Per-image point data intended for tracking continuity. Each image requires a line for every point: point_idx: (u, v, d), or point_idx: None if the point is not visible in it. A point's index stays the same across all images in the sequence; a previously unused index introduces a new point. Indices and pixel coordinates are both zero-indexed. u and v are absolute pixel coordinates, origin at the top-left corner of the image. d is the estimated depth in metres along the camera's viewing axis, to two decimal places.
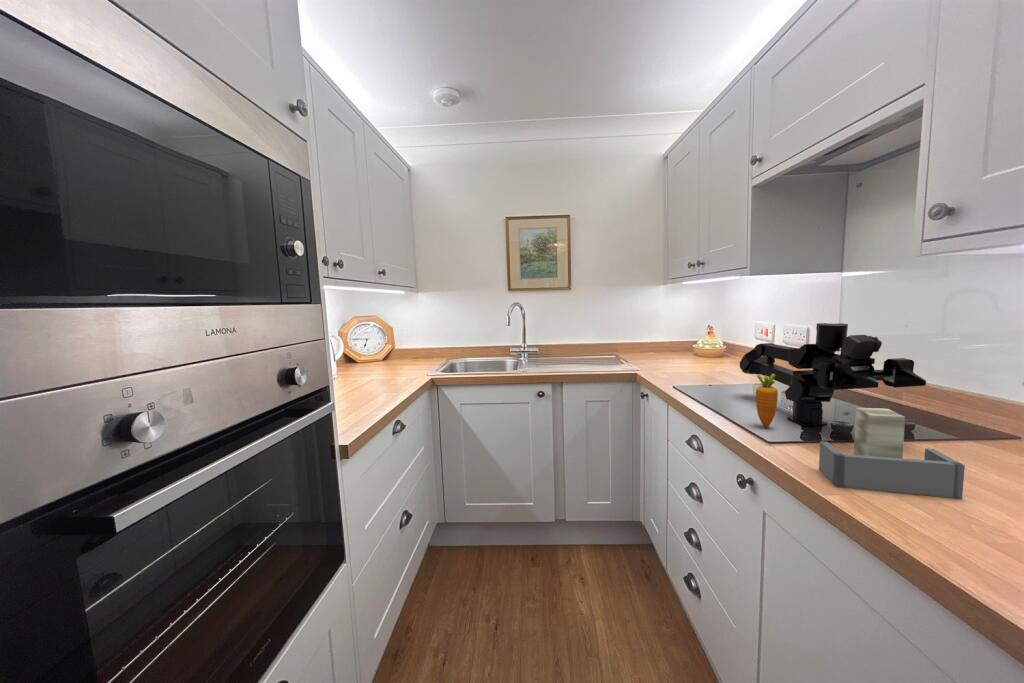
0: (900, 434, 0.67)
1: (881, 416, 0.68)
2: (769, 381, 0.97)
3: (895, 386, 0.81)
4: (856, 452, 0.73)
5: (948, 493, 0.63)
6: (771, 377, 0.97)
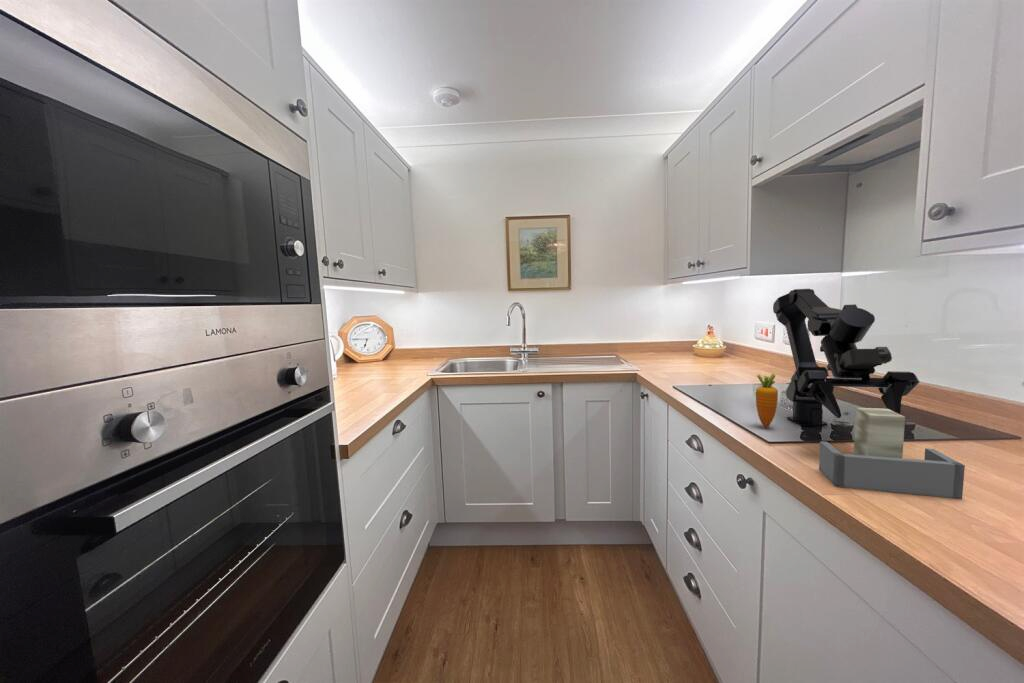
0: (900, 434, 0.67)
1: (881, 416, 0.68)
2: (769, 381, 0.97)
3: (882, 398, 0.78)
4: (856, 452, 0.73)
5: (948, 493, 0.63)
6: (771, 377, 0.97)
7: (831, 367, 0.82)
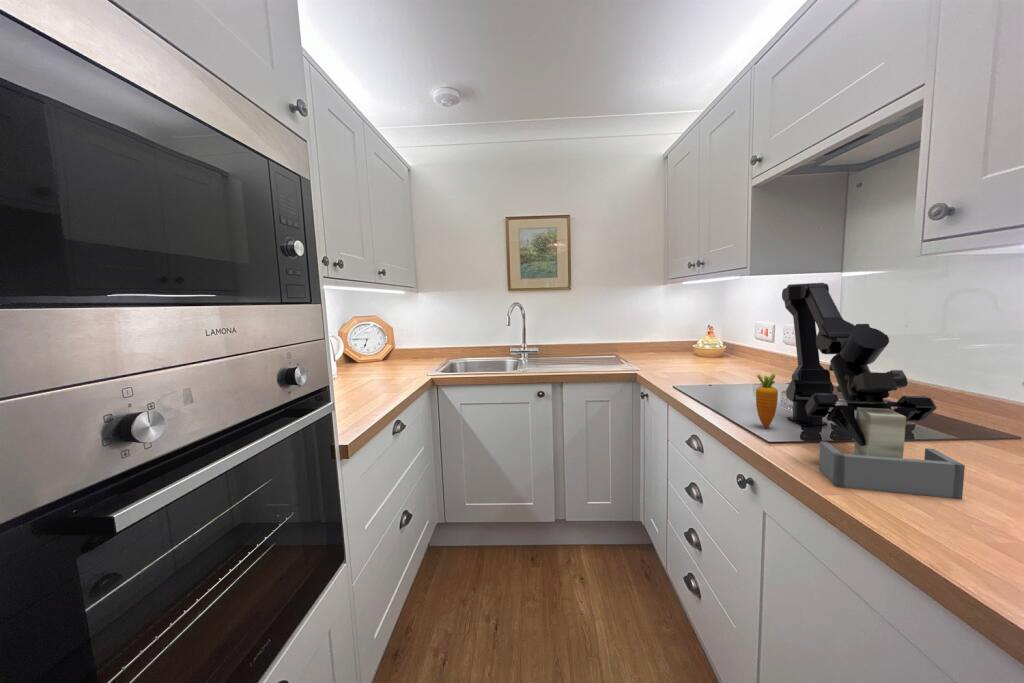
0: (901, 434, 0.67)
1: (882, 416, 0.68)
2: (769, 381, 0.97)
3: None
4: (856, 452, 0.73)
5: (948, 493, 0.63)
6: (771, 377, 0.97)
7: (842, 389, 0.78)
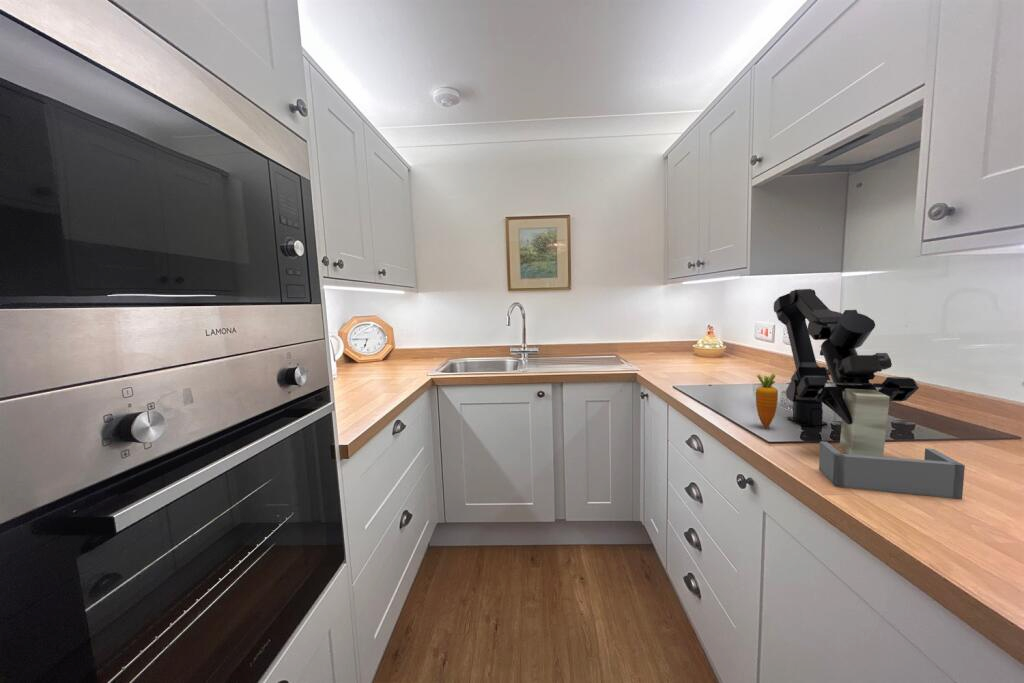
0: (884, 413, 0.72)
1: (867, 396, 0.72)
2: (769, 381, 0.97)
3: None
4: (843, 430, 0.78)
5: (948, 493, 0.63)
6: (771, 377, 0.97)
7: (831, 372, 0.82)
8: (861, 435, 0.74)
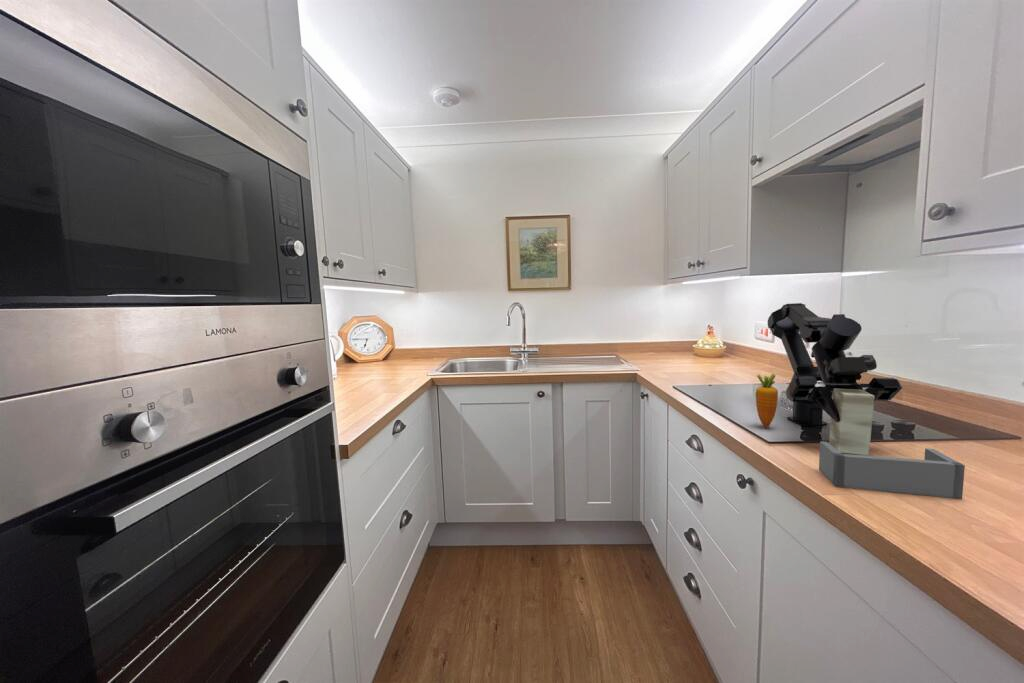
0: (870, 411, 0.77)
1: (854, 395, 0.77)
2: (769, 381, 0.97)
3: None
4: (832, 428, 0.83)
5: (948, 493, 0.63)
6: (771, 377, 0.97)
7: (821, 373, 0.87)
8: (849, 432, 0.78)
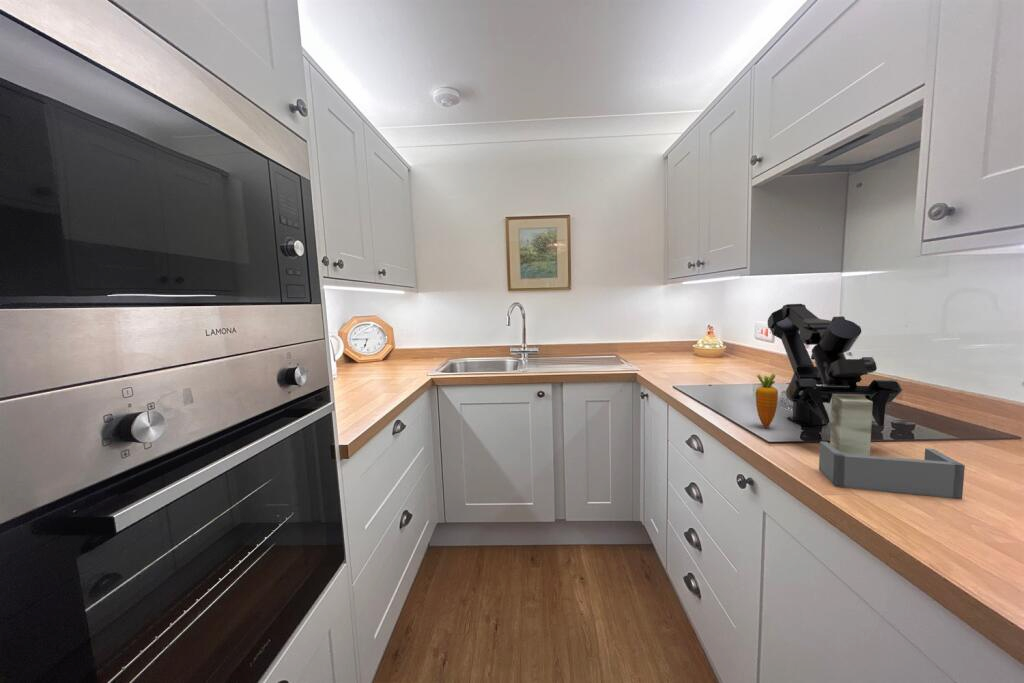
0: (868, 417, 0.77)
1: (852, 401, 0.78)
2: (769, 381, 0.97)
3: None
4: (831, 434, 0.83)
5: (948, 493, 0.63)
6: (771, 377, 0.97)
7: (821, 375, 0.87)
8: (848, 438, 0.78)
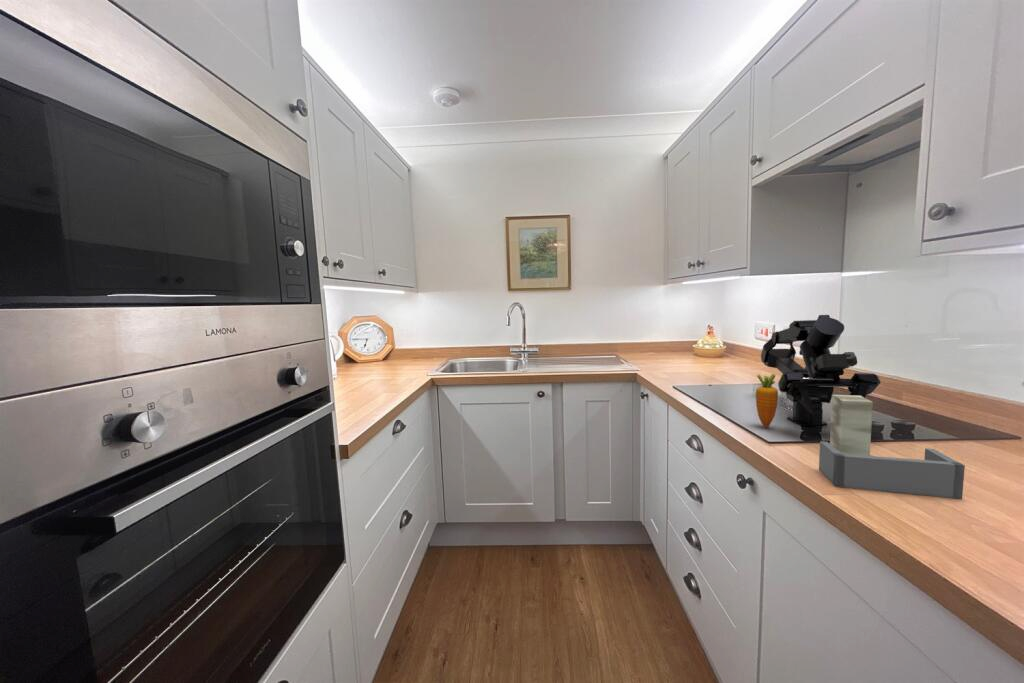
0: (868, 417, 0.77)
1: (852, 401, 0.78)
2: (769, 381, 0.97)
3: None
4: (831, 434, 0.83)
5: (948, 493, 0.63)
6: (771, 377, 0.97)
7: (807, 369, 0.94)
8: (848, 438, 0.78)
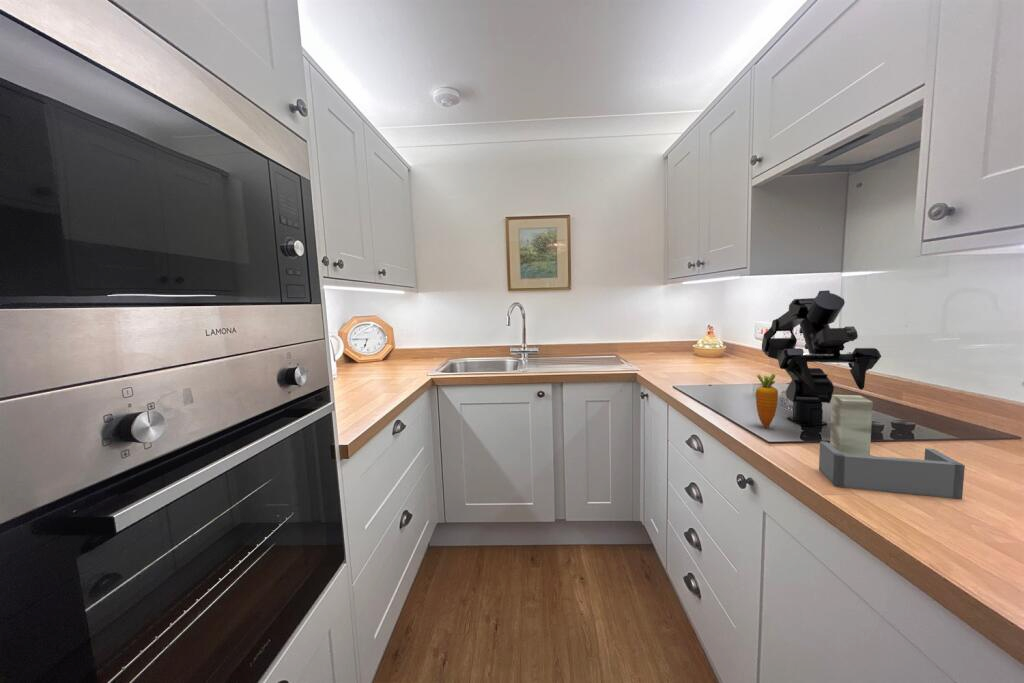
0: (868, 417, 0.77)
1: (852, 401, 0.78)
2: (769, 381, 0.97)
3: (850, 371, 0.89)
4: (831, 434, 0.83)
5: (948, 493, 0.63)
6: (771, 377, 0.97)
7: (808, 346, 0.94)
8: (848, 438, 0.78)
